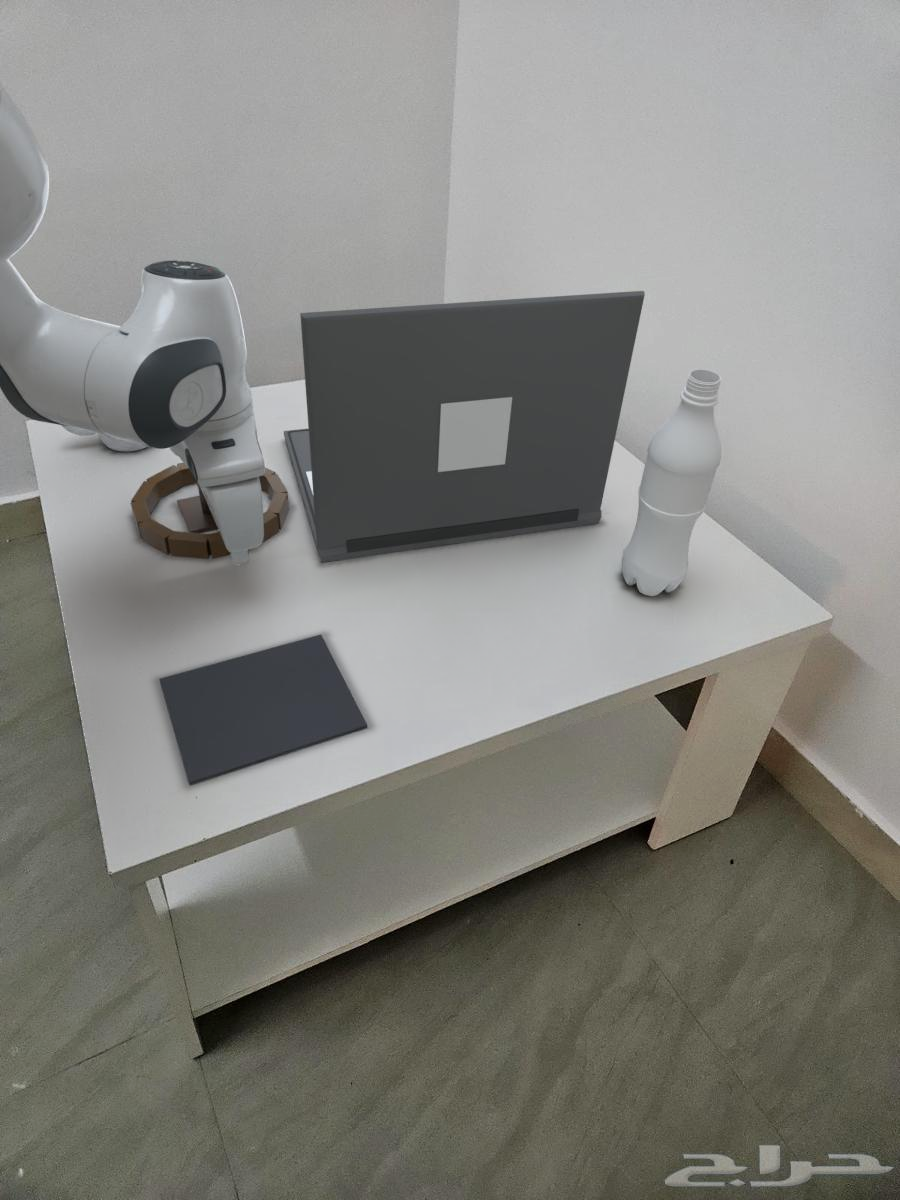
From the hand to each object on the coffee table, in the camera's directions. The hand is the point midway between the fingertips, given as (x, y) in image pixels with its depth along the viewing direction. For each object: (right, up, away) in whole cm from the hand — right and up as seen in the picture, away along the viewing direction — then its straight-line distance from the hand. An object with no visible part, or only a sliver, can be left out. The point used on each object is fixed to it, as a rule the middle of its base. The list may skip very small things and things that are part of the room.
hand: (229, 536), depth 92 cm
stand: (-4, +3, +7) cm, 8 cm away
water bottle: (+47, -5, +1) cm, 48 cm away
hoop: (-4, +3, +7) cm, 8 cm away
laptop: (+23, +8, +15) cm, 28 cm away
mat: (+7, -17, -16) cm, 24 cm away
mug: (-20, +14, +18) cm, 30 cm away
